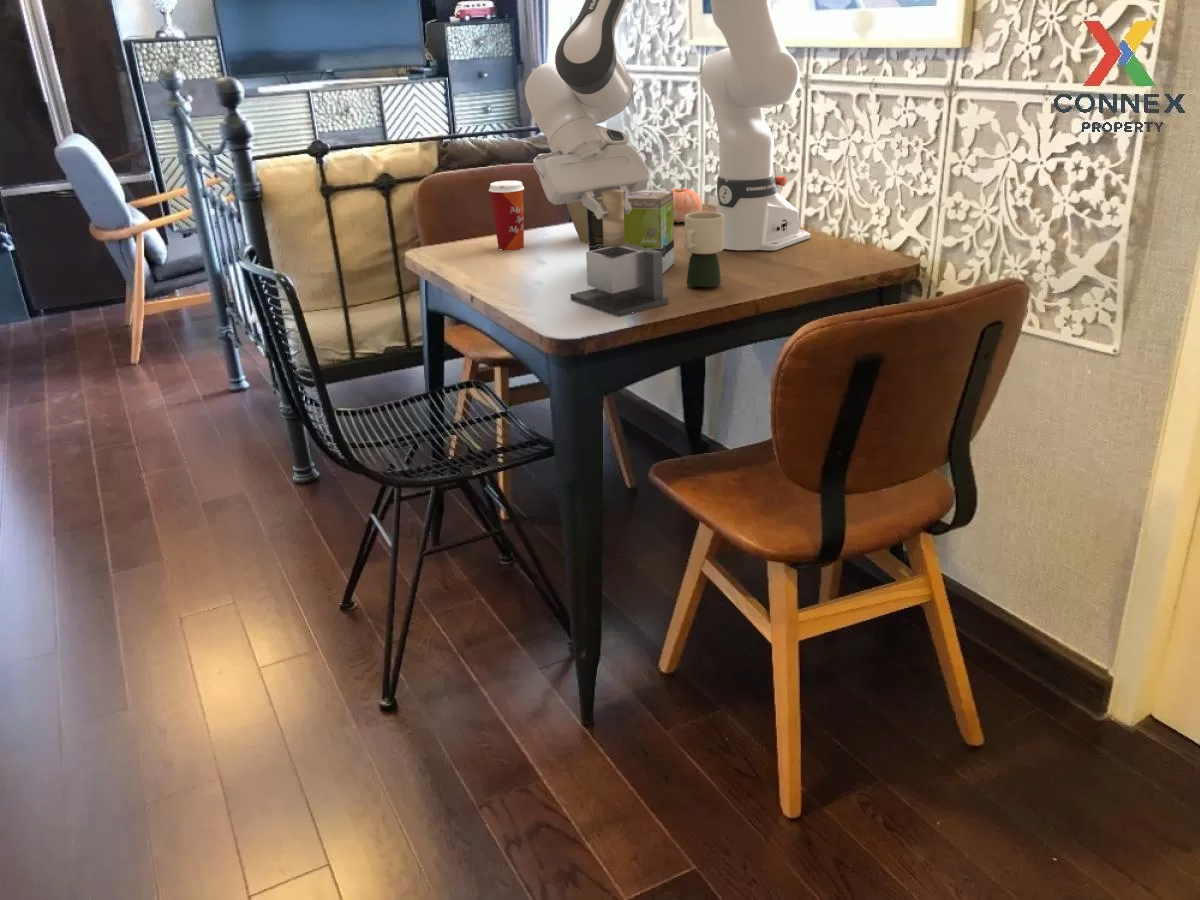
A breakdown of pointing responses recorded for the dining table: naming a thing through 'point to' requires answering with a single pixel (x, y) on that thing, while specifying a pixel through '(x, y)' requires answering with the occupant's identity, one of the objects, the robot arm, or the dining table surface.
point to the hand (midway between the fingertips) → (615, 214)
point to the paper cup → (508, 213)
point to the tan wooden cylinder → (613, 218)
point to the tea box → (642, 224)
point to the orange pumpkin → (685, 203)
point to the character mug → (704, 247)
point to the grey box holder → (623, 279)
